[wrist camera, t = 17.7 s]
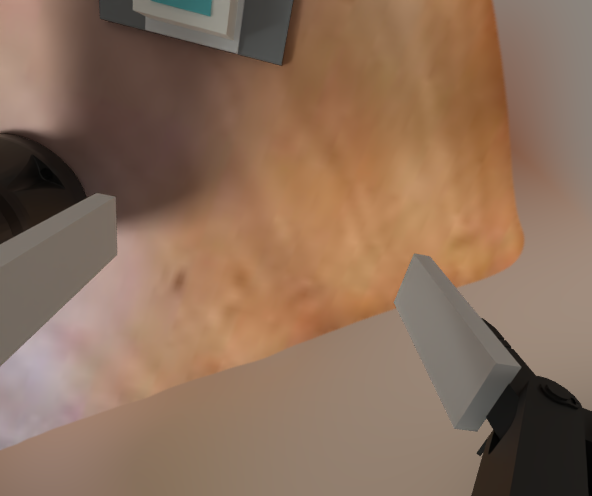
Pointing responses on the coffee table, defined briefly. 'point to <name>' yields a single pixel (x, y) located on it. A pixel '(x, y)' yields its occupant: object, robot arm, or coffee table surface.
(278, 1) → the rail board
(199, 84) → the coffee table surface
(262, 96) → the coffee table surface
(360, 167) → the coffee table surface
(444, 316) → the robot arm
